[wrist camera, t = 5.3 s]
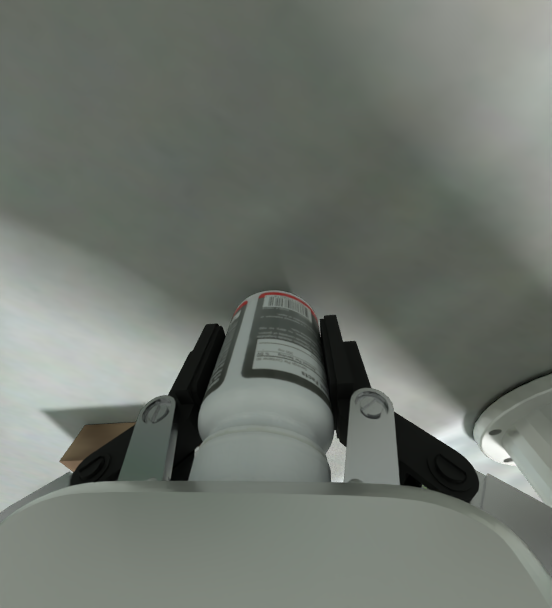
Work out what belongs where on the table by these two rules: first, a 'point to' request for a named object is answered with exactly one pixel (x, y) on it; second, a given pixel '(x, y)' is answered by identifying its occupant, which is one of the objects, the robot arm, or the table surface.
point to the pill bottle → (267, 397)
